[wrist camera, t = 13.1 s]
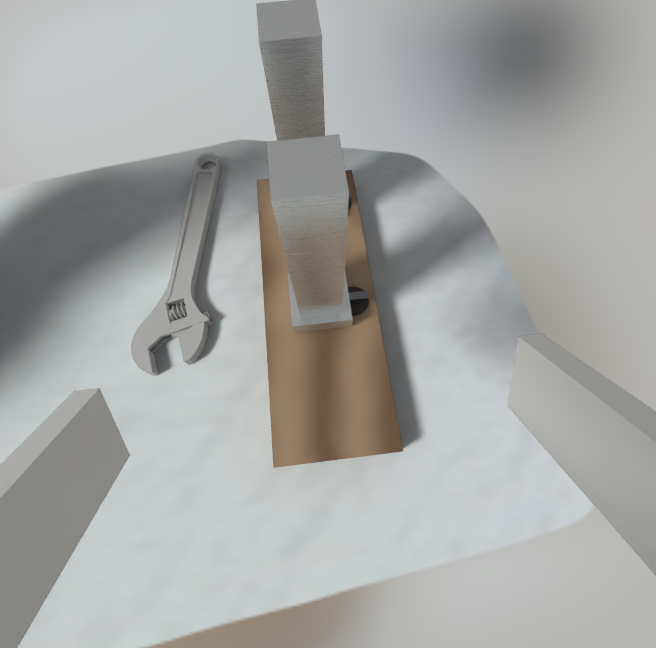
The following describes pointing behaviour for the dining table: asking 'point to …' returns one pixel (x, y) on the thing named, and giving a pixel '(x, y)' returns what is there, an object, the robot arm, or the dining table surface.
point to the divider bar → (325, 360)
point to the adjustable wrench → (182, 279)
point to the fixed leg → (293, 67)
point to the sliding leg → (313, 229)
